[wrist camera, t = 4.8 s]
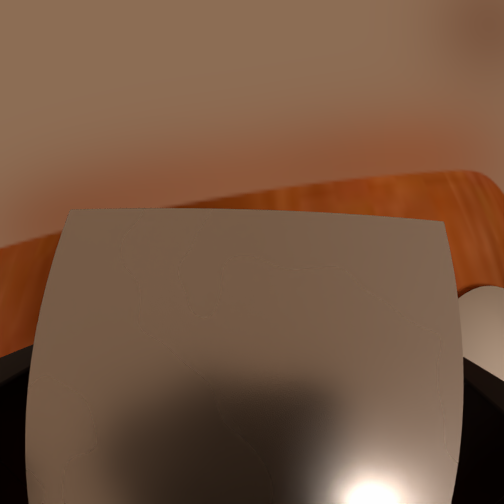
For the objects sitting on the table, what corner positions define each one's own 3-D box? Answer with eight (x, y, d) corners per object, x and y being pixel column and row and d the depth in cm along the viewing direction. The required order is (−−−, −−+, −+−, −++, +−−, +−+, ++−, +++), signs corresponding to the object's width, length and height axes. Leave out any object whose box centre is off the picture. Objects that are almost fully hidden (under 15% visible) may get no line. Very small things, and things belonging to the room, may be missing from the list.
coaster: (553, 353, 12) (559, 351, 11) (483, 483, 9) (489, 485, 9) (476, 257, 15) (481, 253, 15) (385, 388, 13) (390, 387, 12)
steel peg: (306, 445, 12) (422, 590, 1) (209, 439, 12) (35, 544, 1) (312, 354, 14) (443, 221, 3) (217, 348, 14) (70, 209, 3)
